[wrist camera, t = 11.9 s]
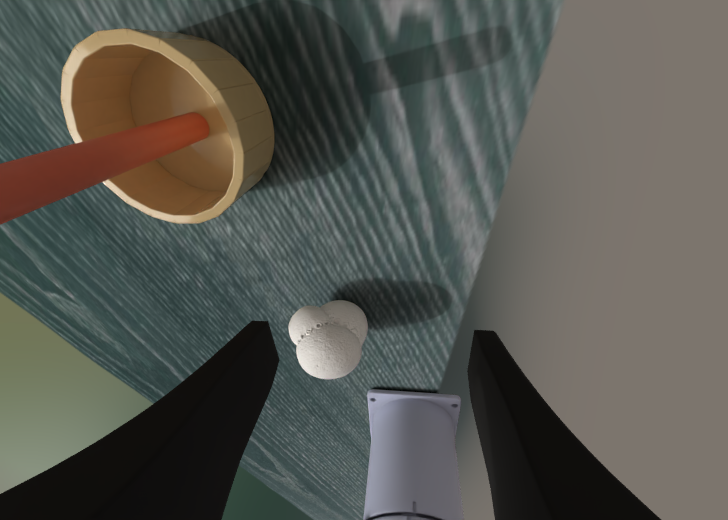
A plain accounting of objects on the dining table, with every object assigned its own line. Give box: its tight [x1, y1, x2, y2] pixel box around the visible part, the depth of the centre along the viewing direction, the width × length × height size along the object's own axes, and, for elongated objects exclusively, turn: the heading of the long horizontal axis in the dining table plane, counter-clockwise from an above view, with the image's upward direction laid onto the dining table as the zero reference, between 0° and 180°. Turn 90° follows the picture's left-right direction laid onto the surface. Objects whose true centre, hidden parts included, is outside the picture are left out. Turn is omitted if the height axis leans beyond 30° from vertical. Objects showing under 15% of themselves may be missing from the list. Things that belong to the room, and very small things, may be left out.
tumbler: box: [61, 28, 275, 223], centre depth 16 cm, size 8×8×4 cm
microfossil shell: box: [288, 300, 368, 379], centre depth 22 cm, size 4×5×6 cm
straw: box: [0, 112, 209, 224], centre depth 13 cm, size 1×1×11 cm
